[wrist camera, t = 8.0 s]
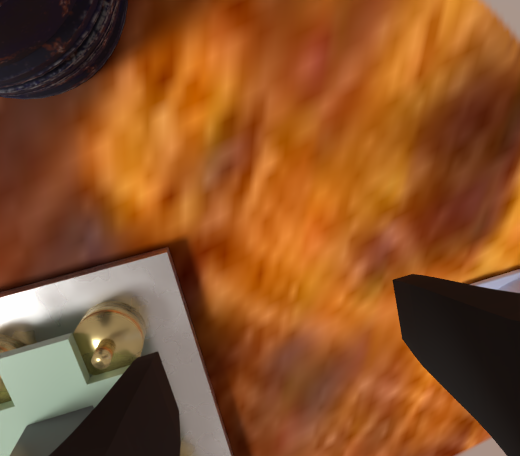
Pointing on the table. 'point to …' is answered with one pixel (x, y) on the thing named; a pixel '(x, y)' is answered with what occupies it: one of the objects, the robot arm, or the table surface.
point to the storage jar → (55, 43)
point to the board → (47, 395)
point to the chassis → (123, 333)
